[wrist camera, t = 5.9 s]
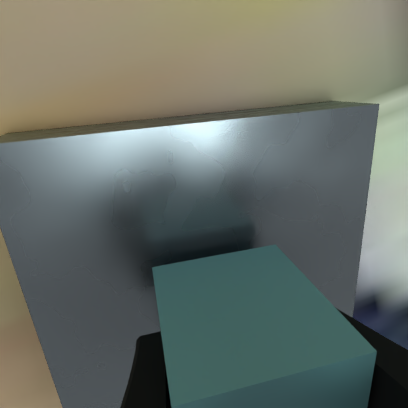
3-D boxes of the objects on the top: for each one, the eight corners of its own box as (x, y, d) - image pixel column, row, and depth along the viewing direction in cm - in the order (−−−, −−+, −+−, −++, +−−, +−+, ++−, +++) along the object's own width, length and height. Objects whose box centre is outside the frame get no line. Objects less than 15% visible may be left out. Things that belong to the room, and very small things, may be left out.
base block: (315, 333, 17) (345, 372, 15) (84, 391, 15) (76, 447, 12) (333, 101, 12) (379, 104, 10) (6, 133, 10) (-28, 146, 8)
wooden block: (274, 339, 12) (355, 477, 7) (167, 365, 11) (191, 535, 7) (275, 244, 10) (376, 351, 6) (151, 267, 9) (171, 407, 5)
